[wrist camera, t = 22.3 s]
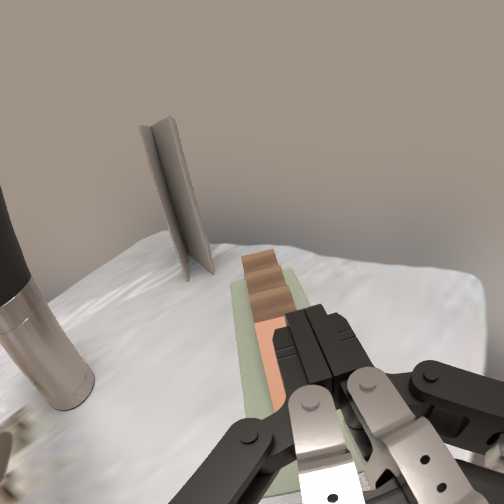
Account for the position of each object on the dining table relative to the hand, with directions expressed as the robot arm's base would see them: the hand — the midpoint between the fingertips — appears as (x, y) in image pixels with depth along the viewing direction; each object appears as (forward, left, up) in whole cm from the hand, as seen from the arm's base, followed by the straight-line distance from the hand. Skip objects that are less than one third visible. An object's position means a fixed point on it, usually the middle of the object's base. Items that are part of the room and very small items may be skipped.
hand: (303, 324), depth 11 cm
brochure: (-27, +39, -19) cm, 51 cm away
